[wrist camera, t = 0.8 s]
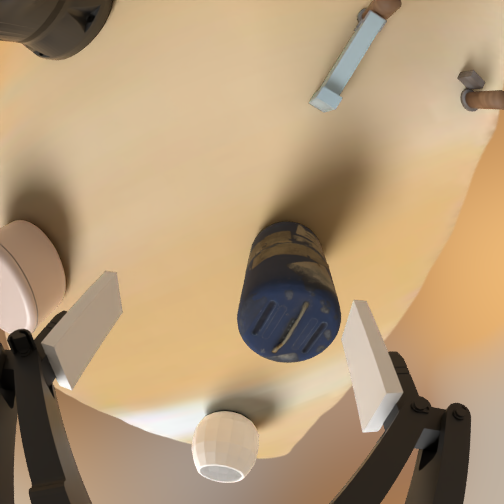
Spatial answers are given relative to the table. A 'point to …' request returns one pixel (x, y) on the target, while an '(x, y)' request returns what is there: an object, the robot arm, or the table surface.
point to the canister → (288, 295)
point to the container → (28, 277)
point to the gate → (347, 62)
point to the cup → (225, 446)
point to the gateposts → (388, 3)
